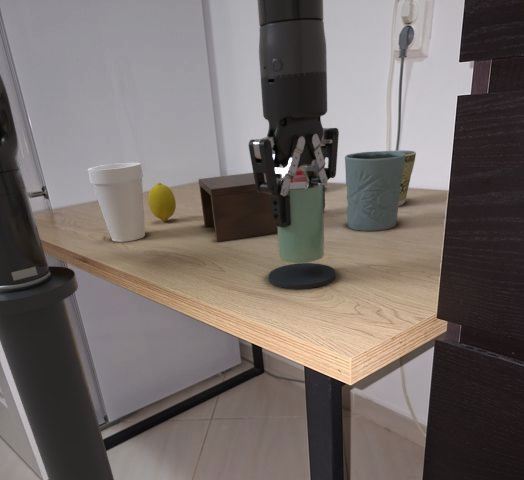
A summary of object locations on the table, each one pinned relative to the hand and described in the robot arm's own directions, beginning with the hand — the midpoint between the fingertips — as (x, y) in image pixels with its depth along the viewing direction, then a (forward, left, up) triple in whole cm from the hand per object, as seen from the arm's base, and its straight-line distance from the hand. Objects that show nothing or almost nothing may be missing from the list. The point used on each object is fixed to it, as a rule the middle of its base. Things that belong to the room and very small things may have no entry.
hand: (299, 220), depth 64 cm
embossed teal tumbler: (+21, +21, -8) cm, 31 cm away
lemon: (-14, +48, -8) cm, 51 cm away
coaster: (0, 0, -8) cm, 8 cm away
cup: (0, 0, -5) cm, 5 cm away
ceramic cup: (+33, +37, -8) cm, 50 cm away
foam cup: (-22, +38, -8) cm, 45 cm away
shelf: (0, +32, -8) cm, 33 cm away
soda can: (+13, +36, -8) cm, 39 cm away
